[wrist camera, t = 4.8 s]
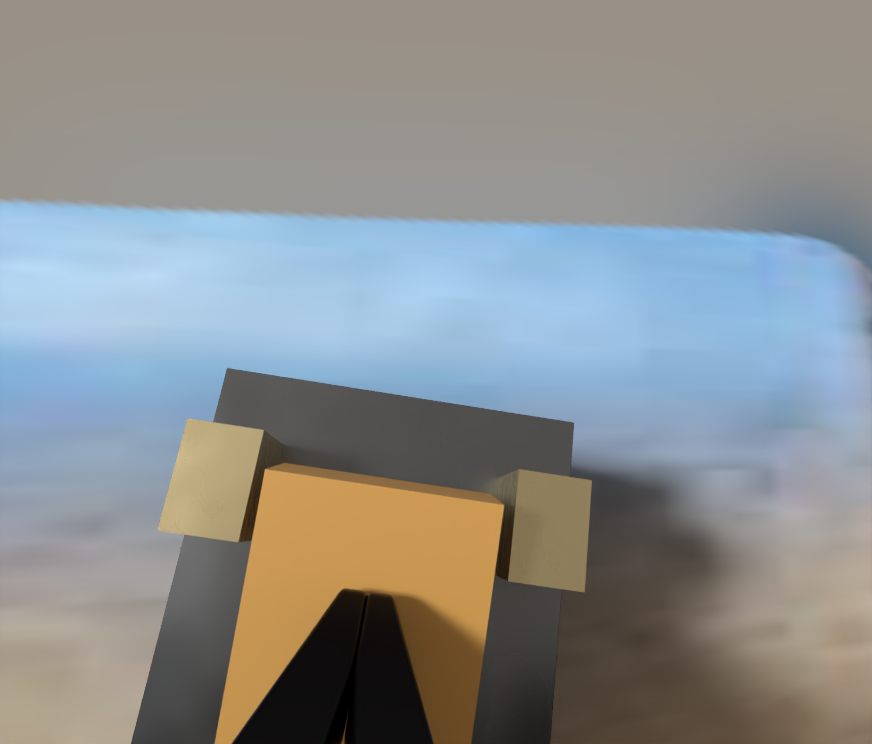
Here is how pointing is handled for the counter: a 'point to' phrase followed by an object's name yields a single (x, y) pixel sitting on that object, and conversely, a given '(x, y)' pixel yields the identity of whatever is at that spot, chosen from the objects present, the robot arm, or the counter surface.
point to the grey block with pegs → (381, 457)
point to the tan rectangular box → (367, 583)
